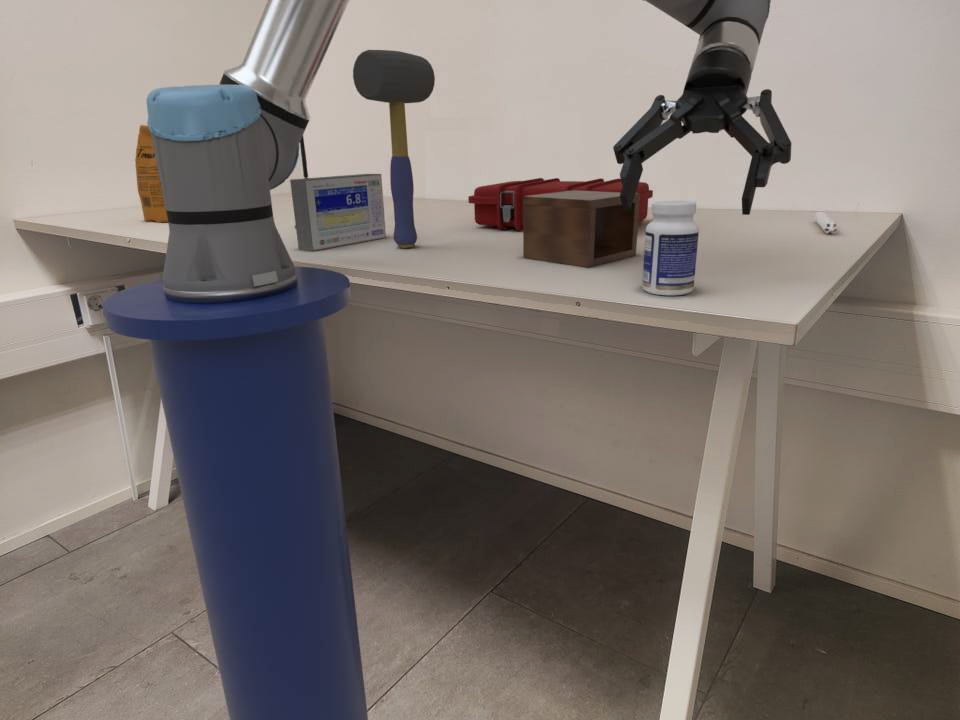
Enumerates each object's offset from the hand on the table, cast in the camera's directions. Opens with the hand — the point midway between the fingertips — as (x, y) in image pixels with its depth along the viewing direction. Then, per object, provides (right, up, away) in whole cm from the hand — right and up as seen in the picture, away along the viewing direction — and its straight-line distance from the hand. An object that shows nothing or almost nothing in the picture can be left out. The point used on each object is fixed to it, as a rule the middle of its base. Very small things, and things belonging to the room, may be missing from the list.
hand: (682, 205), depth 71 cm
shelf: (-8, -2, +22) cm, 23 cm away
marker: (+40, +6, +42) cm, 59 cm away
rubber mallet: (-36, +1, +34) cm, 49 cm away
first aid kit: (-7, +10, +55) cm, 56 cm away
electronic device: (-48, +3, +40) cm, 63 cm away
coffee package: (-99, +17, +81) cm, 129 cm away
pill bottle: (-2, -10, 0) cm, 10 cm away
